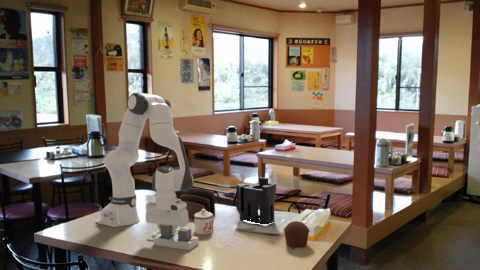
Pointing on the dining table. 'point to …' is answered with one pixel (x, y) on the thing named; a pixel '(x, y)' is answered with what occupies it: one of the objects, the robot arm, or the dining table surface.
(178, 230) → the tray
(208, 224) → the teacup with lid
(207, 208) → the letter holder
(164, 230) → the plug
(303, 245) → the muffin
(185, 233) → the dark grey block
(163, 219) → the robot arm
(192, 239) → the power strip
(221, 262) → the dining table surface
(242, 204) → the black machined bracket
